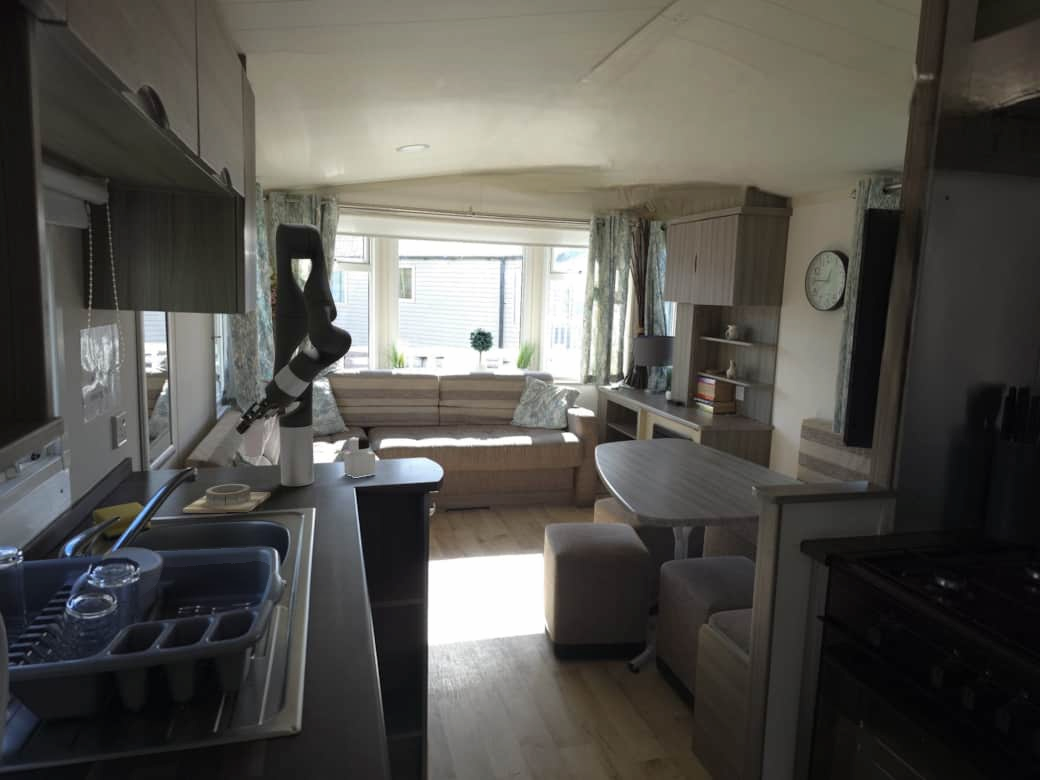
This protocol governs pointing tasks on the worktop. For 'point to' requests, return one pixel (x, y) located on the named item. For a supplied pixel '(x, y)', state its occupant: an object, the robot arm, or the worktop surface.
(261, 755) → the worktop surface
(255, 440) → the smoothie
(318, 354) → the robot arm
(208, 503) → the collar stand
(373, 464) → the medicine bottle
